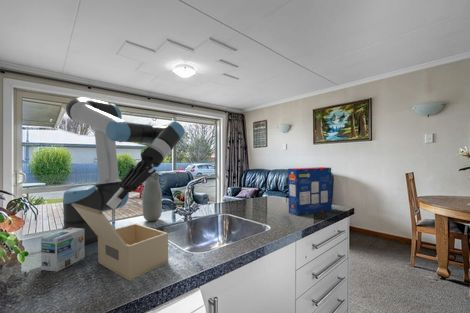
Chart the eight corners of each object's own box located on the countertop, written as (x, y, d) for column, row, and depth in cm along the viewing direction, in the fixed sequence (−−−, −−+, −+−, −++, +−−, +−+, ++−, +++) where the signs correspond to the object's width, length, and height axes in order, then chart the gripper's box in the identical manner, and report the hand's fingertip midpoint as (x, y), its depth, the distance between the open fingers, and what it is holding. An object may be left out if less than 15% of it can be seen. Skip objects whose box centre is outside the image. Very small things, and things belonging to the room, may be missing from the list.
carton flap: (98, 233, 78) (96, 235, 77) (73, 202, 72) (71, 204, 71) (127, 246, 66) (125, 248, 66) (101, 210, 60) (98, 212, 60)
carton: (97, 262, 78) (97, 233, 78) (136, 248, 89) (135, 223, 89) (128, 280, 66) (127, 246, 66) (168, 262, 77) (167, 233, 77)
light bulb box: (57, 272, 71) (56, 238, 71) (40, 270, 73) (39, 237, 73) (85, 257, 82) (85, 228, 82) (70, 256, 83) (70, 227, 83)
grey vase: (139, 223, 124) (138, 172, 123) (149, 218, 134) (148, 171, 134) (156, 223, 122) (155, 172, 122) (164, 218, 132) (164, 170, 132)
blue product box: (322, 208, 153) (321, 167, 153) (331, 210, 146) (331, 167, 146) (288, 212, 142) (288, 168, 142) (297, 215, 135) (296, 169, 134)
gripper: (172, 160, 83) (129, 216, 69) (152, 160, 90) (109, 210, 77) (159, 145, 78) (111, 202, 65) (139, 146, 86) (92, 197, 73)
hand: (110, 206), depth 71 cm, fingers closed
